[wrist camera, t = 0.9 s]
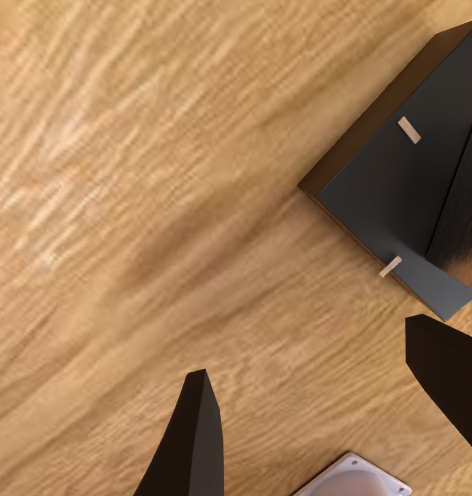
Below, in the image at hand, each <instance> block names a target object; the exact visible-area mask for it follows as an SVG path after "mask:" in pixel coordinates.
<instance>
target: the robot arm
mask: <svg viewBox="0 0 472 496" xmlns="http://www.w3.org/2000/svg"><path fill="white" fill-rule="evenodd" d="M405 333H406V363H407V365H408V366H409V368H410V370H411V371H412V373H413V374H414V376H415V377H416V379H417V380H418V382H419V383H420V385H421V386H422V388H423V389H424V390H425V392H426V393H427V394H428V395H429V396H430V398H431V399H432V400H433V401H434V402H435V404H436V405H437V406H438V407H439V408H440V410H441V411H442V412H443V413H444V414H445V416H446V417H447V418H448V419H449V420H450V421H451V423H452V424H453V425H454V426H455V427H456V429H457V430H458V431H459V432H460V433H461V434H462V436H463V437H464V438H465V439H466V440H467V442H468V443H469V444H470V445H471V446H472V337H471V336H469V335H467V334H465V333H463V332H461V331H459V330H456V329H454V328H452V327H450V326H448V325H446V324H444V323H442V322H440V321H437V320H435V319H433V318H431V317H429V316H426V315H424V314H419V315H415V316H411V317H407V318H405ZM411 493H412V490H411V488H410V487H409V486H408V485H406V484H404V483H403V482H401V481H399V480H398V479H396V478H394V477H393V476H391V475H389V474H387V473H386V472H384V471H382V470H381V469H379V468H377V467H376V466H374V465H372V464H371V463H369V462H367V461H366V460H364V459H362V458H361V457H359V456H357V455H356V454H354V453H347V454H345V455H344V456H343V457H341V458H340V459H339V460H338V461H336V462H335V463H334V464H332V465H331V466H330V467H329V468H327V469H326V470H325V471H324V472H322V473H321V474H320V475H318V476H317V477H316V478H315V479H313V480H312V481H311V482H309V483H308V484H307V485H306V486H304V487H303V488H302V489H300V490H299V491H298V492H297V493H295V494H294V495H293V496H409V495H410V494H411ZM133 496H224V456H223V434H222V425H221V417H220V409H219V406H218V404H217V401H216V398H215V395H214V392H213V389H212V386H211V383H210V380H209V377H208V375H207V372H206V369H202V370H198V371H194V372H190V373H188V374H187V376H186V378H185V382H184V385H183V387H182V390H181V393H180V396H179V399H178V401H177V404H176V407H175V409H174V412H173V414H172V417H171V419H170V421H169V424H168V426H167V429H166V431H165V433H164V436H163V438H162V440H161V442H160V444H159V446H158V448H157V450H156V453H155V455H154V457H153V459H152V461H151V463H150V465H149V467H148V469H147V471H146V473H145V475H144V477H143V479H142V480H141V482H140V484H139V486H138V488H137V489H136V491H135V493H134V495H133Z"/></svg>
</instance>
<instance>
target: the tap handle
mask: <svg viewBox="0 0 472 496" xmlns="http://www.w3.org/2000/svg"><path fill="white" fill-rule="evenodd" d="M425 260H427V261H428V262H430V263H431V264H433V265H435V266H436V267H438V268H439V269H441V270H443V271H444V272H446V273H447V274H449V275H451V276H452V277H454V278H456V279H457V280H459V281H460V282H462V283H464V284H465V285H467V286H468V287H470V288H472V132H471V135H470V138H469V140H468V143H467V146H466V148H465V151H464V154H463V157H462V159H461V162H460V165H459V168H458V170H457V173H456V176H455V179H454V181H453V184H452V187H451V189H450V192H449V195H448V198H447V200H446V203H445V206H444V209H443V211H442V214H441V217H440V220H439V222H438V225H437V228H436V230H435V233H434V236H433V239H432V241H431V244H430V247H429V250H428V252H427V255H426V258H425Z"/></svg>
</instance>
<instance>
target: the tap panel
mask: <svg viewBox="0 0 472 496" xmlns="http://www.w3.org/2000/svg"><path fill="white" fill-rule="evenodd" d="M471 132H472V21H470V22H467V23H464V24H462V25H459V26H456V27H454V28H451V29H448V30H445V31H443V32H440V33H437V34H436V35H435V36H434V37H433V38H432V39H431V40H430V41H429V43H428V44H427V45H426V46H425V47H424V48H423V49H422V50H421V51H420V52H419V53H418V54H417V56H416V57H415V58H414V59H413V60H412V61H411V62H410V63H409V64H408V65H407V66H406V68H405V69H404V70H403V71H402V72H401V73H400V74H399V75H398V76H397V77H396V78H395V79H394V81H393V82H392V83H391V84H390V85H389V86H388V87H387V88H386V89H385V90H384V91H383V93H382V94H381V95H380V96H379V97H378V98H377V99H376V100H375V101H374V102H373V103H372V105H371V106H370V107H369V108H368V109H367V110H366V111H365V112H364V113H363V114H362V115H361V116H360V118H359V119H358V120H357V121H356V122H355V123H354V124H353V125H352V126H351V127H350V128H349V130H348V131H347V132H346V133H345V134H344V135H343V136H342V137H341V138H340V139H339V140H338V141H337V143H336V144H335V145H334V146H333V147H332V148H331V149H330V150H329V151H328V152H327V153H326V155H325V156H324V157H323V158H322V159H321V160H320V161H319V162H318V163H317V164H316V165H315V167H314V168H313V169H312V170H311V171H310V172H309V173H308V174H307V175H306V176H305V177H304V178H303V180H302V181H301V182H300V183H299V184H298V187H299V188H300V189H301V190H302V191H303V192H304V193H306V194H307V195H308V196H309V197H310V198H311V199H312V200H313V201H314V202H315V203H316V204H317V205H318V206H319V207H320V208H321V209H322V210H323V211H324V212H326V213H327V214H328V215H329V216H330V217H331V218H332V219H333V220H334V221H335V222H336V223H337V224H338V225H339V226H340V227H341V228H342V229H343V230H344V231H345V232H347V233H348V234H349V235H350V236H351V237H352V238H353V239H354V240H355V241H356V242H357V243H358V244H359V245H360V246H361V247H362V248H363V249H364V250H365V251H367V252H368V253H369V254H370V255H371V256H372V257H373V258H374V259H375V260H376V261H377V262H378V263H379V264H380V265H381V266H382V267H383V268H382V269H381V270H380V271H379V272H378V274H379V275H380V276H381V277H382V278H383V277H384V276H385V275H386V274H387V273H388V272H389V273H390V274H391V275H392V276H393V277H394V278H395V279H396V280H397V281H398V282H399V283H400V284H401V285H402V286H403V287H404V288H405V289H406V290H408V291H409V292H410V293H411V294H412V295H413V296H414V297H415V298H416V299H417V300H419V301H420V302H421V303H422V304H423V305H425V306H426V307H427V308H428V309H429V310H431V311H432V312H433V313H434V314H436V315H437V316H438V317H439V318H440V319H442V320H443V321H444V322H446V321H447V320H448V319H450V318H451V317H452V316H453V315H454V314H456V313H457V312H458V311H459V310H461V309H462V308H463V307H464V306H465V305H467V304H468V303H469V302H470V301H471V300H472V288H470V287H468V286H467V285H465V284H464V283H462V282H460V281H459V280H457V279H456V278H454V277H452V276H451V275H449V274H447V273H446V272H444V271H443V270H441V269H439V268H438V267H436V266H435V265H433V264H431V263H430V262H428V261H427V260H425V258H426V255H427V252H428V250H429V247H430V244H431V241H432V239H433V236H434V233H435V230H436V228H437V225H438V222H439V220H440V217H441V214H442V211H443V209H444V206H445V203H446V200H447V198H448V195H449V192H450V189H451V187H452V184H453V181H454V179H455V176H456V173H457V170H458V168H459V165H460V162H461V159H462V157H463V154H464V151H465V148H466V146H467V143H468V140H469V138H470V135H471Z"/></svg>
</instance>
